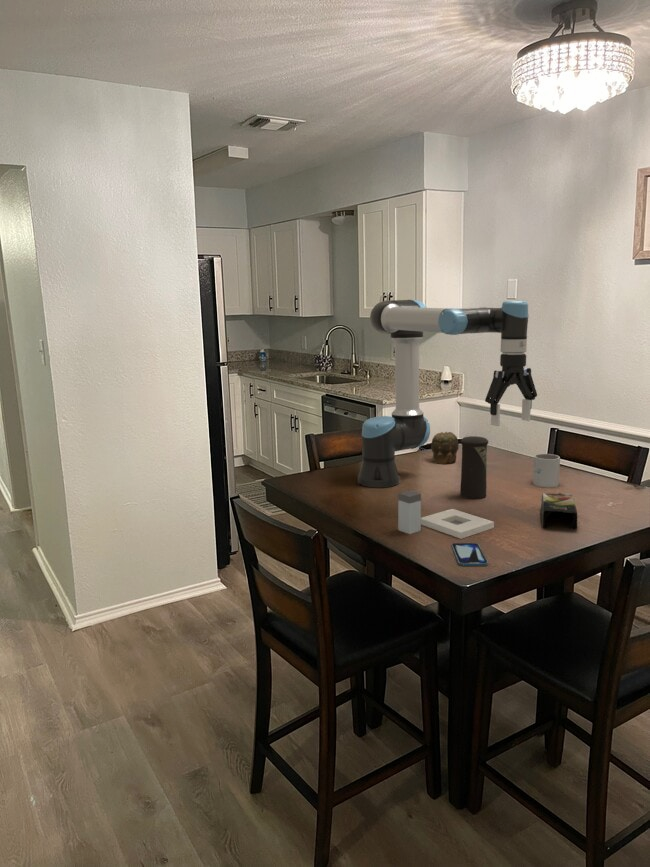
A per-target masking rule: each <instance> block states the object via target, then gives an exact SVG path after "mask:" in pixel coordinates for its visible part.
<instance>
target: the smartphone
mask: <svg viewBox="0 0 650 867" xmlns="http://www.w3.org/2000/svg"><path fill="white" fill-rule="evenodd" d="M451 549H452V551H453V553H454V554H453V555H454V556H455V559H456V562H457V564H458V566H461V567H486V566H487V567H488V566H489V561H488V559H487V557H486V555H485V554H484V552H483V549H482V548H481V545H480V544H479V543H478V542H477V543H476V542H453V543H451Z"/></svg>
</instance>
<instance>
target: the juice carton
mask: <svg viewBox="0 0 650 867" xmlns="http://www.w3.org/2000/svg"><path fill="white" fill-rule="evenodd" d="M539 512H540V517H541V524H542V525H541V526H542V528H543V529H547V527H545V524H546V521H547V518H548V516H549V515H550V514H552V513H561V512H562V513H564V514H572V519H573V518H574V519H573V520H572V523H571V524H570V525H568V529H570V530H571V529H572V530H577V529H578V510H577V506H576V503H575V498H574V495H573V494H570V493H562V492H555V493H551V492H550V493H549V492H548V493H545V492H542V493H541V503H540V510H539Z"/></svg>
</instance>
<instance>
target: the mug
mask: <svg viewBox="0 0 650 867" xmlns="http://www.w3.org/2000/svg"><path fill="white" fill-rule="evenodd" d="M560 463H561V457H560V456H559V455H557V454H553V453H552V454H551V453H538V454H535V455H533V474H532V476H533V477H532V484H533V485H534V486H536V487H539V488H540V487H541V488H557V487H558V486H559V484H560V483H559V482H560V466H561V464H560Z"/></svg>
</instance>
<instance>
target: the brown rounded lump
mask: <svg viewBox="0 0 650 867" xmlns="http://www.w3.org/2000/svg"><path fill="white" fill-rule="evenodd" d="M430 449H431V452H432V458H433V459H432V460H433V462H434V463H435V464H438V465H440V464H441V465H451V464H454V463H455V462H456V461H457V454H458V451H459V439H458V437H457V435H455V433H453V432H451V431H449V432H448V431H445V432H443V431H441V432H438V433H436V434H435V435H433V437H432V439H431V444H430Z"/></svg>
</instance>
